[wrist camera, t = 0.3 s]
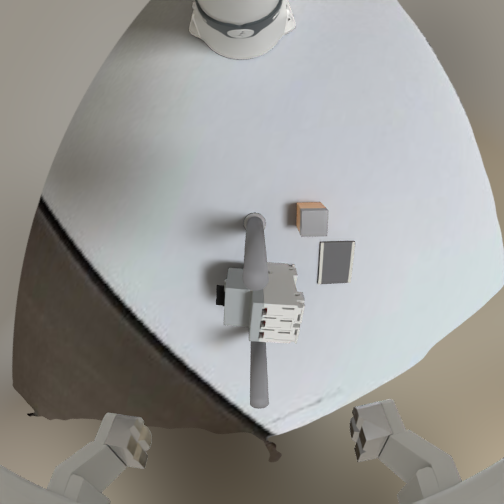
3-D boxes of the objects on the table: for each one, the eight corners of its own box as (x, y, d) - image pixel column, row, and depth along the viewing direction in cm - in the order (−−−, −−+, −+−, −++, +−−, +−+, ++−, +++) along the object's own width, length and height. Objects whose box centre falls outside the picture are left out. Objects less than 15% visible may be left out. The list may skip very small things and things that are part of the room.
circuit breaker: (221, 258, 57) (211, 299, 43) (294, 264, 58) (306, 306, 44) (220, 291, 60) (211, 337, 46) (288, 297, 61) (298, 343, 47)
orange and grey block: (296, 202, 53) (301, 210, 47) (320, 202, 53) (328, 210, 47) (296, 226, 55) (301, 236, 49) (319, 225, 55) (327, 236, 49)
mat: (320, 241, 56) (320, 242, 55) (354, 240, 56) (355, 241, 55) (317, 283, 59) (318, 284, 59) (349, 281, 59) (350, 282, 59)
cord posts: (243, 213, 54) (237, 264, 33) (265, 212, 54) (273, 263, 33) (249, 332, 64) (247, 410, 44) (267, 331, 64) (271, 409, 44)
